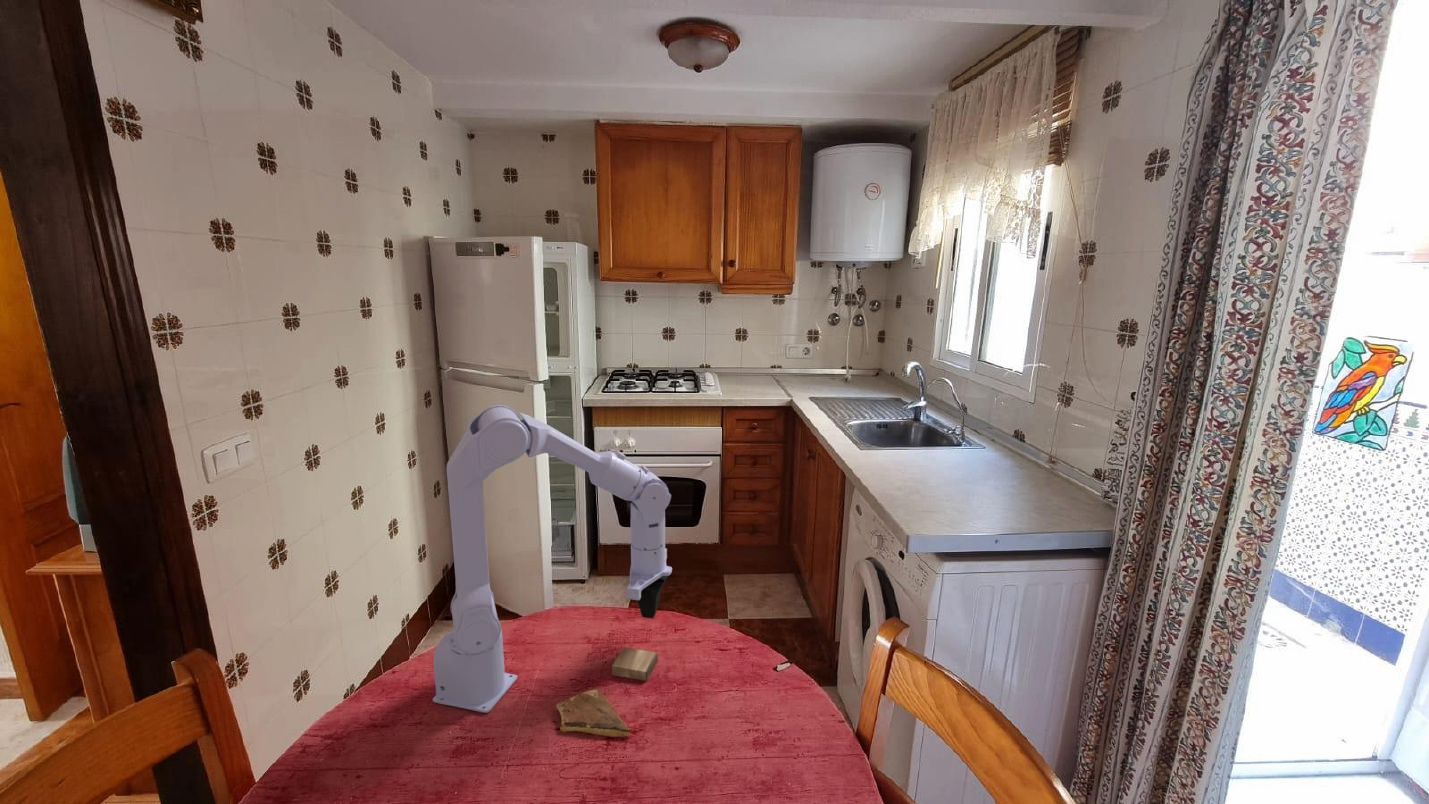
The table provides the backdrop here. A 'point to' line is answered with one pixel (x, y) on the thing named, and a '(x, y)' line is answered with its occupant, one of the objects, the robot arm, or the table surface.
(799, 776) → the table surface
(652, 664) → the oak slab
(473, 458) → the robot arm
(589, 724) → the shard
